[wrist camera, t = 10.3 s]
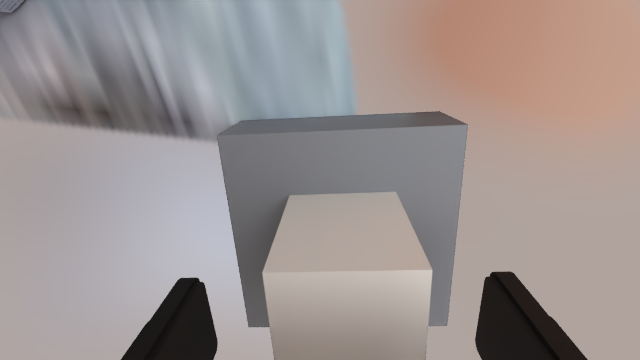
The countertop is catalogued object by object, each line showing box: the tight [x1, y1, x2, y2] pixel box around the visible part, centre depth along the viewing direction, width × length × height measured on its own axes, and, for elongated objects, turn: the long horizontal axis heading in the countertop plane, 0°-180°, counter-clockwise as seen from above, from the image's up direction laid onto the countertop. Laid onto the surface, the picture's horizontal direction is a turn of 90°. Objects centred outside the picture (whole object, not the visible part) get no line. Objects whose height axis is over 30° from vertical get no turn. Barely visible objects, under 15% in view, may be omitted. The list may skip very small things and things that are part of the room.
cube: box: [262, 192, 432, 360], centre depth 13 cm, size 5×5×6 cm
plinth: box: [217, 111, 468, 327], centre depth 18 cm, size 11×11×4 cm
